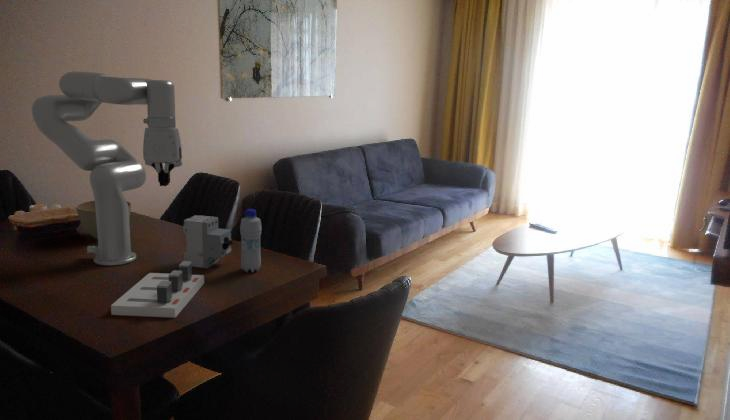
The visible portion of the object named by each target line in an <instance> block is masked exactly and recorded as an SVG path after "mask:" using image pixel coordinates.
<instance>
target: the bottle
mask: <svg viewBox="0 0 730 420" xmlns="http://www.w3.org/2000/svg"><path fill="white" fill-rule="evenodd" d="M244 213H245V215H244V216H245V217H242V218H241V219H240V226H239V231H240V233H239V234H240V239H241V240H240V241H241V243H240V244H241V245H240V246H241V247H240V249H241V255H240V268H241V270H242V271H243V272H245V273H249V271H250V273H254V272H259V270H260V269H261V265H262V257H261V255H262V254H261V235H262V231H263V230H262V228H263V227H262V221H261V218H259V217H257V211H256V209H253V208H248V209H246V210H245V212H244Z"/></svg>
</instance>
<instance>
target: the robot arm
mask: <svg viewBox="0 0 730 420" xmlns="http://www.w3.org/2000/svg"><path fill="white" fill-rule="evenodd" d="M58 86H59V89H60V91H61V92H62V93H63V94H49V95H44V96H41V97H38V98H36V99H35V100H34V102H32V103H33V104H32V107H31V115H32V118H33V121H34V122H35V126H36V127H37V128H38V130H39V131H40V132H41V134H42V135H44V136H45V137H46V138H47V139H49V140H50V141H51V143H54V144H55V145H56V146H57V147H58V148H59V149H60V150H61V151H62V152H63V153H64V154H65V155H66V156H67V157H68V159H70V160H71V161H72V162H73V163H74V164H75V165H76V166H77V167H78V168H79V169H81V170H83V171H85V172H90V174H89V183H90V187H91V190H92V194H93V198H94V199H93V201H95V209H96V222H97V236H98V239H97V246H94V245H87V247H86V253H87V254H90V255H91V254H94V255H95V256H94V257H93V262H94V263H95V264H96V265H100V266H120V265H125V264H129V263H131V262H132V263H133V262H134V261H135V260H137V253H136V252H133V251H132V245H131V243H132V242H131V228H130V217H129V209H128V204H127V202H128V201H127V199H126V197H125V196H124V195H123V193H124V192H127V191H130V190H131V191H132V190H136V189H138V188H141V187H143V185H144V184H145V183H146V180H147V174H146V170H145V168H144V166H143V164H141V163H140V161H138V159H137V158H136V157H135V156H133V154H131V152H129V150H127V149H126V148H125V147H124V145H122V144H121V143H119V141H115V140H112V139H91V138H90V137H89V136H88V135H86V133H84V132H83V130H81V129H80V128H78V127H77V126H75V125H73V124H71V123H69V122H82V121H85V120H88V119H89V118H90V117H92V116H93V114H94V113H95V112H96V110H98V108H99V107H100V106H101V104H112V105H122V106H123V105H124V106H130V105H131V106H132V105H133V106H135V105H139V106H140V105H143V106H144V105H147V106H146V107H147V117H146V118H143V121H142V122H143V124H146V125H147V127H145V128H144V129H145V130H144V134H143V141H142V142H143V143H142V146H143V147H142V154H143V157H142V158H143V160H144V165H146V166H149V167H151V168H153V169H154V170H155V171H156V173H157V179H158V180H157V181H158V183H159V186H160V187H167V186H169V185H170V183H171V172H172V170H173V169H175V168H178V167H181V166H183V162H182V159H183V150H182V144H181V143H182V142H181V136H180V132H179V129H178V128H177V127H176V122H177V121H176V100H175V98H176V97H175V95H176V94H175V84H174V82H173V81H171V80H163V79H151V78H150V79H149V78H139V77H117V76H116V77H115V76H110V75H108V74H106V73H100V72H94V71H93V72H92V71H91V72H90V71H74V70H73V71H69V72H67V73H64V74H63V75H61V77H60V79H59V81H58ZM122 192H123V193H122Z"/></svg>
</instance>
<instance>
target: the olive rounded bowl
mask: <svg viewBox="0 0 730 420" xmlns="http://www.w3.org/2000/svg"><path fill="white" fill-rule="evenodd" d="M127 204H128V209H129V218H130V217H131V212H132V203H131V202H130V201H127ZM75 207H76V213H77V216H78V219H79V221H80V224H81V225H82V227H83V228H84V229H85V230H86V232H87V234H89V235H90V236H91V237H92V238H93V239H95V240H98V236H97V222H96V209H95V200H90V201H85V202H84V201H83V202H80V203H79V204H76V206H75Z"/></svg>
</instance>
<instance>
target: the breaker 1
mask: <svg viewBox="0 0 730 420" xmlns="http://www.w3.org/2000/svg"><path fill="white" fill-rule="evenodd" d="M171 298H172V283H171V281H161V282H160V283H159V284H158V285H157V302H158V303H167V302H168V301H169V300H170V299H171Z"/></svg>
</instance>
